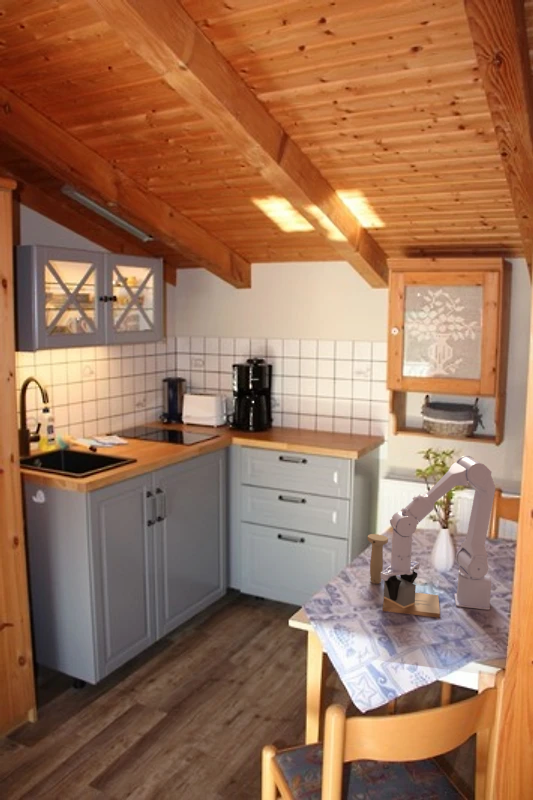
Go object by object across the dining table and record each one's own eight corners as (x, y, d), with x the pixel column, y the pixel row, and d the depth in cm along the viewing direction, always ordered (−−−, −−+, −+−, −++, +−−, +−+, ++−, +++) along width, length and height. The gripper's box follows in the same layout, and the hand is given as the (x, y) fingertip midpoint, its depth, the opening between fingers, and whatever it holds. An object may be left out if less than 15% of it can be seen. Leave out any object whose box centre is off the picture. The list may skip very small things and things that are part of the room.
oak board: (438, 598, 200) (438, 595, 200) (439, 617, 189) (439, 613, 189) (384, 592, 204) (384, 589, 203) (382, 611, 192) (382, 607, 192)
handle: (381, 587, 207) (383, 542, 205) (363, 582, 211) (365, 537, 209) (388, 582, 211) (390, 537, 209) (370, 577, 215) (372, 532, 212)
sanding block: (414, 604, 194) (415, 584, 193) (403, 608, 191) (405, 588, 190) (394, 594, 200) (395, 575, 199) (383, 597, 198) (384, 579, 197)
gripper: (394, 563, 186) (392, 608, 188) (428, 552, 194) (426, 595, 197) (376, 555, 191) (374, 599, 194) (410, 544, 200) (407, 587, 202)
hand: (399, 597), depth 196 cm, fingers closed on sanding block, 5 cm apart
